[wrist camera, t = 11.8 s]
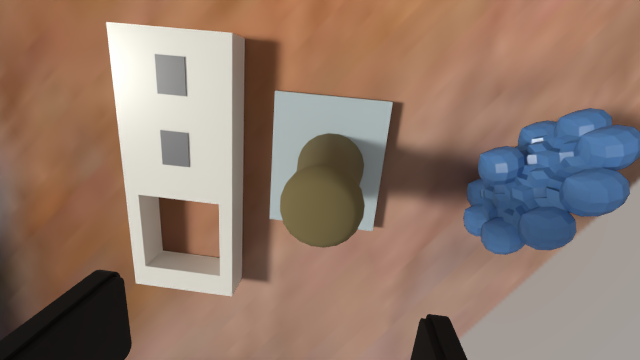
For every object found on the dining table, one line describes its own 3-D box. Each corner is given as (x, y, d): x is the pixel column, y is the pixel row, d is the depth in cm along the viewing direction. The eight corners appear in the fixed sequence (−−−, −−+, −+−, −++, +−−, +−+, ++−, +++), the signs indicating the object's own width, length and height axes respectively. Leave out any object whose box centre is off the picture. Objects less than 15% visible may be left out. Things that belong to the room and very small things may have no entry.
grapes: (496, 77, 25) (617, 73, 14) (563, 118, 26) (734, 145, 14) (416, 192, 29) (459, 264, 17) (476, 226, 29) (557, 317, 18)
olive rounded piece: (363, 131, 27) (372, 162, 16) (365, 196, 28) (374, 263, 18) (294, 135, 27) (260, 167, 17) (300, 198, 29) (273, 264, 19)
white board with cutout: (241, 278, 33) (231, 297, 31) (153, 266, 34) (135, 283, 31) (244, 38, 26) (231, 32, 23) (132, 28, 27) (105, 21, 24)
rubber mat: (371, 226, 30) (372, 231, 29) (271, 214, 31) (269, 218, 30) (391, 101, 27) (392, 102, 26) (277, 90, 27) (274, 90, 26)
